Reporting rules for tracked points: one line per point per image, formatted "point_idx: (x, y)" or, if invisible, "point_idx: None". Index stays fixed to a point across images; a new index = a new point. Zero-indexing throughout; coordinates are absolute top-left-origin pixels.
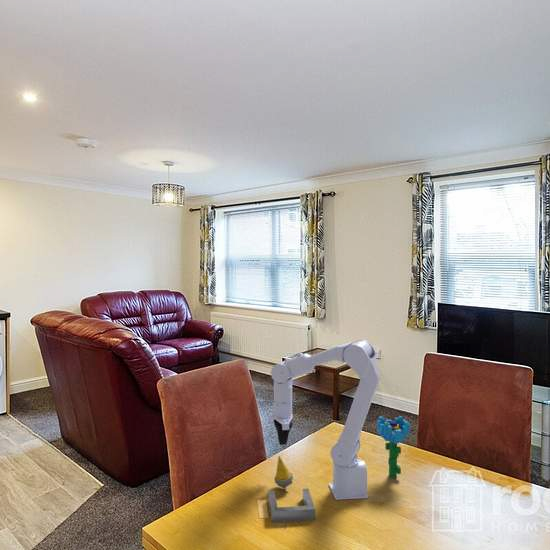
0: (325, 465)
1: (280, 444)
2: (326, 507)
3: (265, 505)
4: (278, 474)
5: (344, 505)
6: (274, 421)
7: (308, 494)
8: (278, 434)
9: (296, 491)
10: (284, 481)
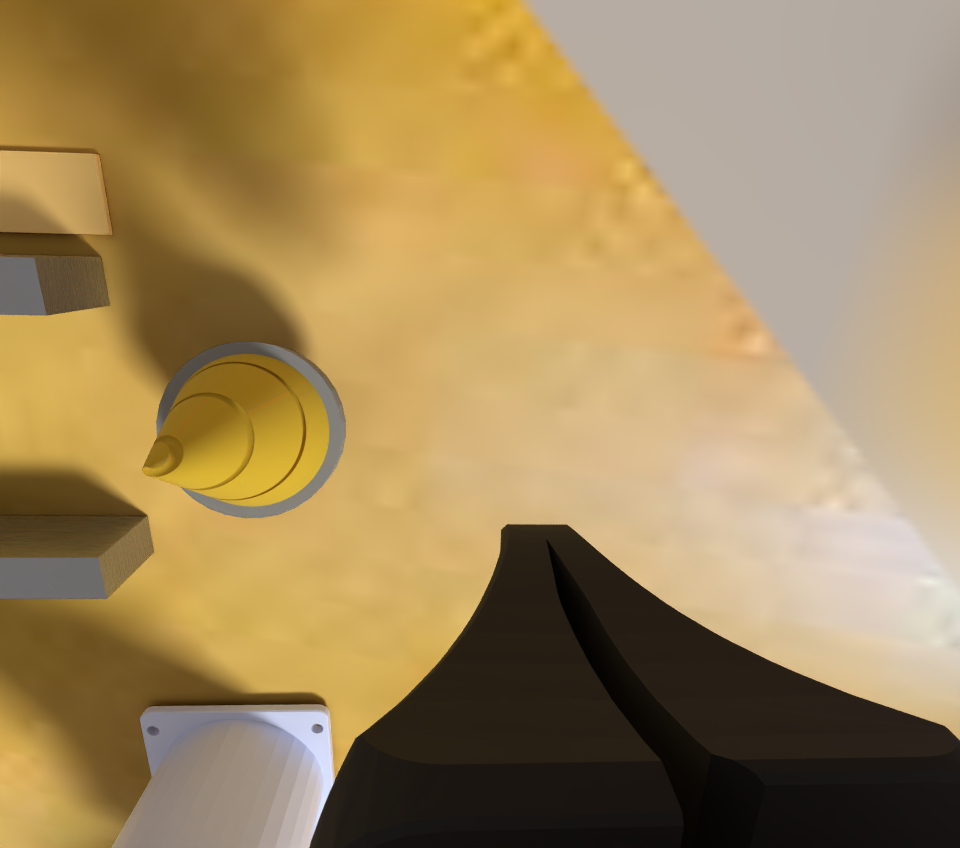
0: None
1: (501, 535)
2: (64, 640)
3: (17, 221)
4: (185, 390)
5: (98, 736)
6: (786, 804)
7: (15, 586)
8: (473, 619)
9: None
10: (158, 429)
